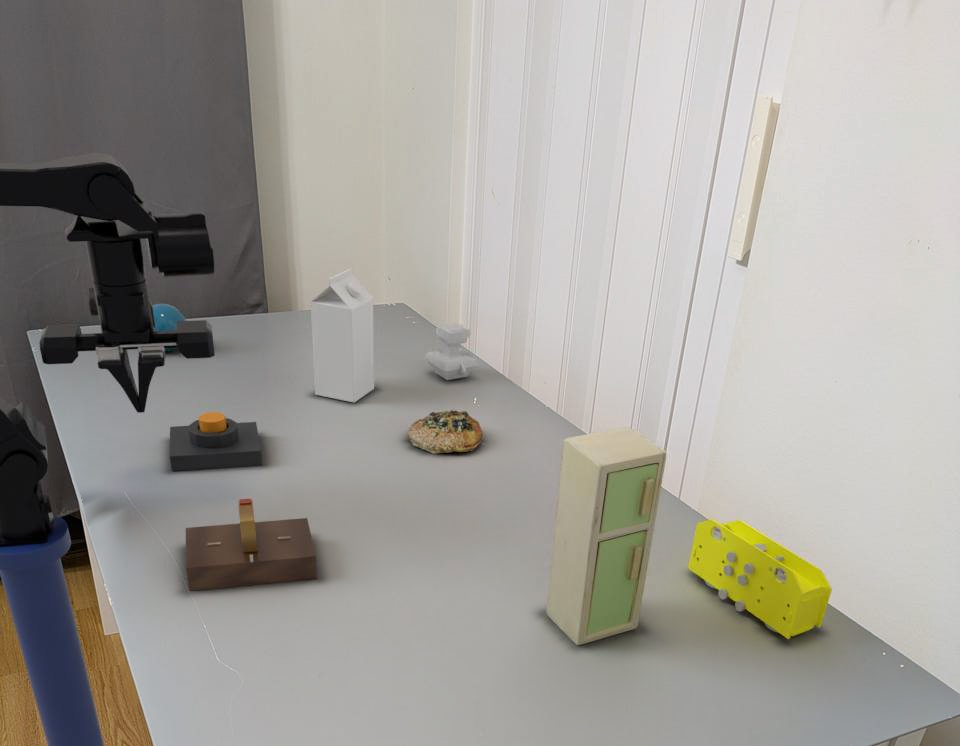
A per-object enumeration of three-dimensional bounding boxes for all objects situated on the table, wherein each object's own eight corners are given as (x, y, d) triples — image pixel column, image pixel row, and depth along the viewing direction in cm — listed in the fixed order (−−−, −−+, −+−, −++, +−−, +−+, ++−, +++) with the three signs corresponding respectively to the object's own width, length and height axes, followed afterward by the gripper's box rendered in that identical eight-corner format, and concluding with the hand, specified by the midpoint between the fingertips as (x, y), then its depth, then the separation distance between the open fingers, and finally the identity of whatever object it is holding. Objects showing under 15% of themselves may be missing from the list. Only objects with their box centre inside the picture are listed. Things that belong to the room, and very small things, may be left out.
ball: (144, 343, 169) (137, 298, 164) (190, 341, 171) (185, 297, 166) (142, 358, 163) (134, 312, 158) (190, 357, 164) (184, 310, 160)
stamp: (421, 370, 164) (422, 322, 159) (454, 365, 167) (456, 317, 163) (447, 388, 158) (449, 338, 153) (481, 381, 161) (483, 332, 156)
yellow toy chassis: (683, 575, 112) (696, 512, 107) (719, 563, 114) (733, 502, 110) (783, 646, 101) (801, 580, 96) (820, 632, 103) (840, 567, 99)
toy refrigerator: (579, 651, 98) (603, 467, 87) (543, 614, 104) (562, 436, 92) (642, 633, 102) (673, 453, 90) (604, 598, 107) (629, 424, 95)
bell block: (171, 471, 128) (167, 443, 126) (172, 440, 136) (168, 414, 134) (262, 465, 131) (259, 438, 129) (257, 435, 139) (255, 410, 136)
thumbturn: (257, 551, 106) (254, 518, 104) (243, 552, 106) (239, 519, 103) (255, 530, 110) (252, 497, 108) (241, 531, 110) (237, 498, 107)
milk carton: (314, 395, 152) (308, 275, 142) (336, 381, 158) (332, 264, 147) (354, 403, 150) (350, 282, 140) (374, 389, 156) (373, 271, 145)
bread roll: (464, 419, 147) (466, 390, 143) (494, 457, 139) (497, 428, 136) (397, 431, 143) (397, 402, 139) (425, 471, 135) (426, 441, 132)
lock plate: (189, 591, 104) (185, 567, 102) (188, 549, 111) (185, 526, 110) (317, 579, 107) (315, 555, 106) (308, 539, 115) (307, 516, 113)
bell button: (200, 434, 129) (198, 422, 128) (199, 424, 132) (198, 412, 131) (227, 433, 130) (226, 421, 129) (226, 422, 133) (224, 411, 132)
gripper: (204, 259, 114) (218, 383, 123) (38, 262, 110) (65, 390, 119) (206, 285, 105) (221, 416, 114) (26, 289, 101) (55, 426, 110)
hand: (141, 411), depth 114 cm, fingers closed
